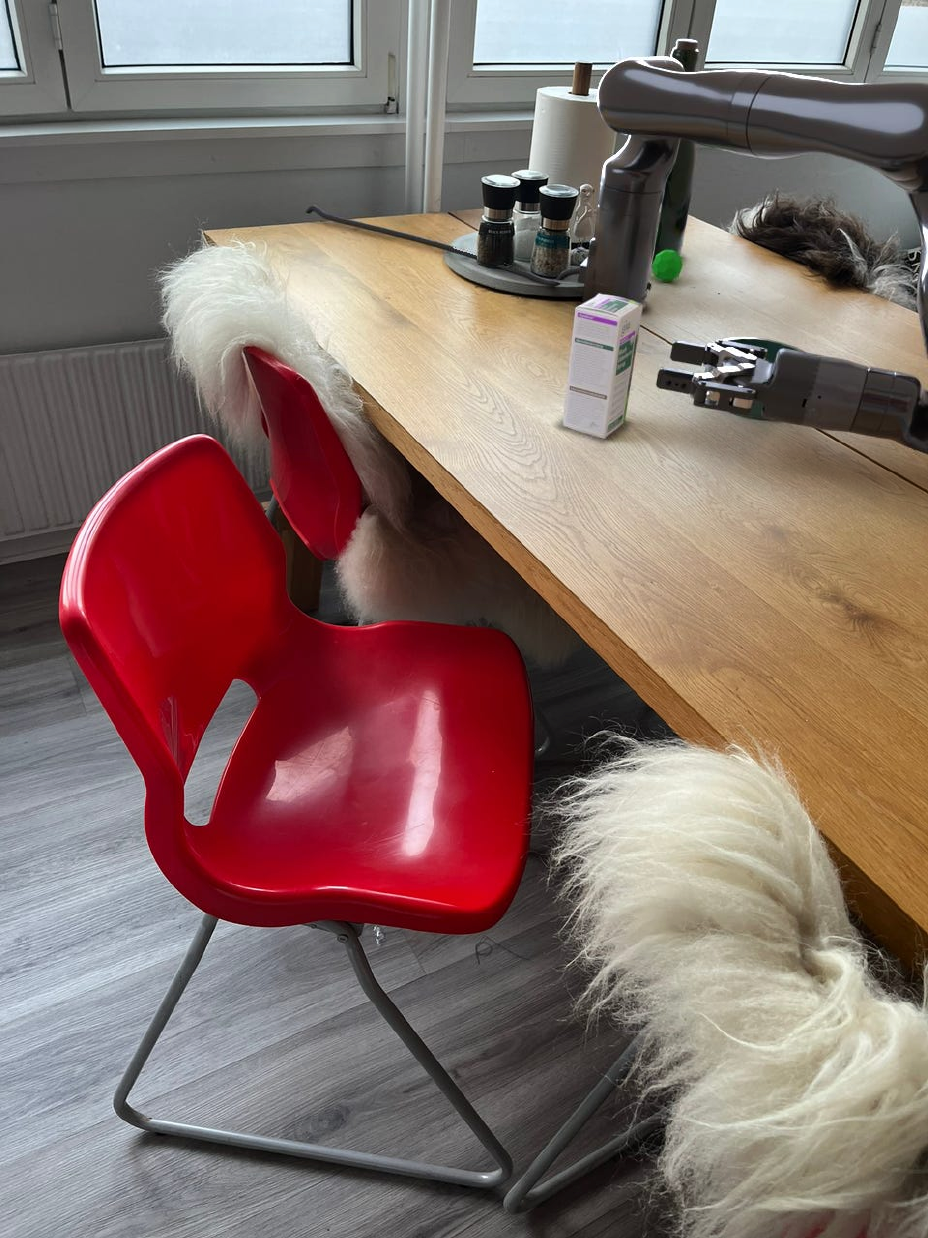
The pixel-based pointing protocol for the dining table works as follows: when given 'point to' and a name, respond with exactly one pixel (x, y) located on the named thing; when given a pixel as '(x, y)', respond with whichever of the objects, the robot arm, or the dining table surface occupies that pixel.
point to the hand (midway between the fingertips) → (664, 362)
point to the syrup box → (601, 364)
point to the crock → (771, 356)
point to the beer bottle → (678, 172)
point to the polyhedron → (667, 265)
